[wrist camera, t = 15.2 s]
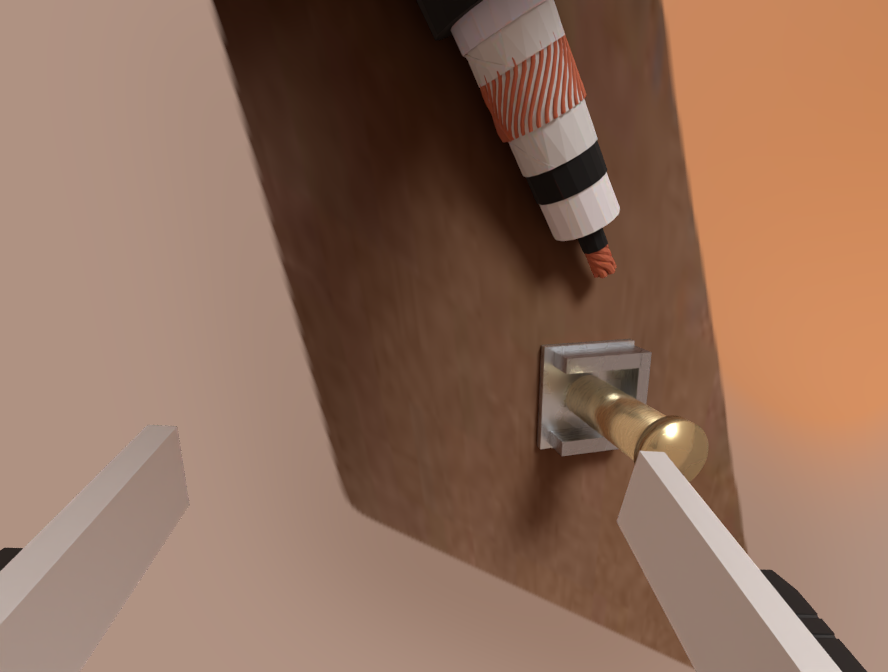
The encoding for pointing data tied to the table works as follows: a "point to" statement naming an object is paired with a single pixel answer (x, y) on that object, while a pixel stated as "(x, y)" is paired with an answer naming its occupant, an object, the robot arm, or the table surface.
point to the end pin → (637, 425)
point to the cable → (537, 111)
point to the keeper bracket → (567, 364)
